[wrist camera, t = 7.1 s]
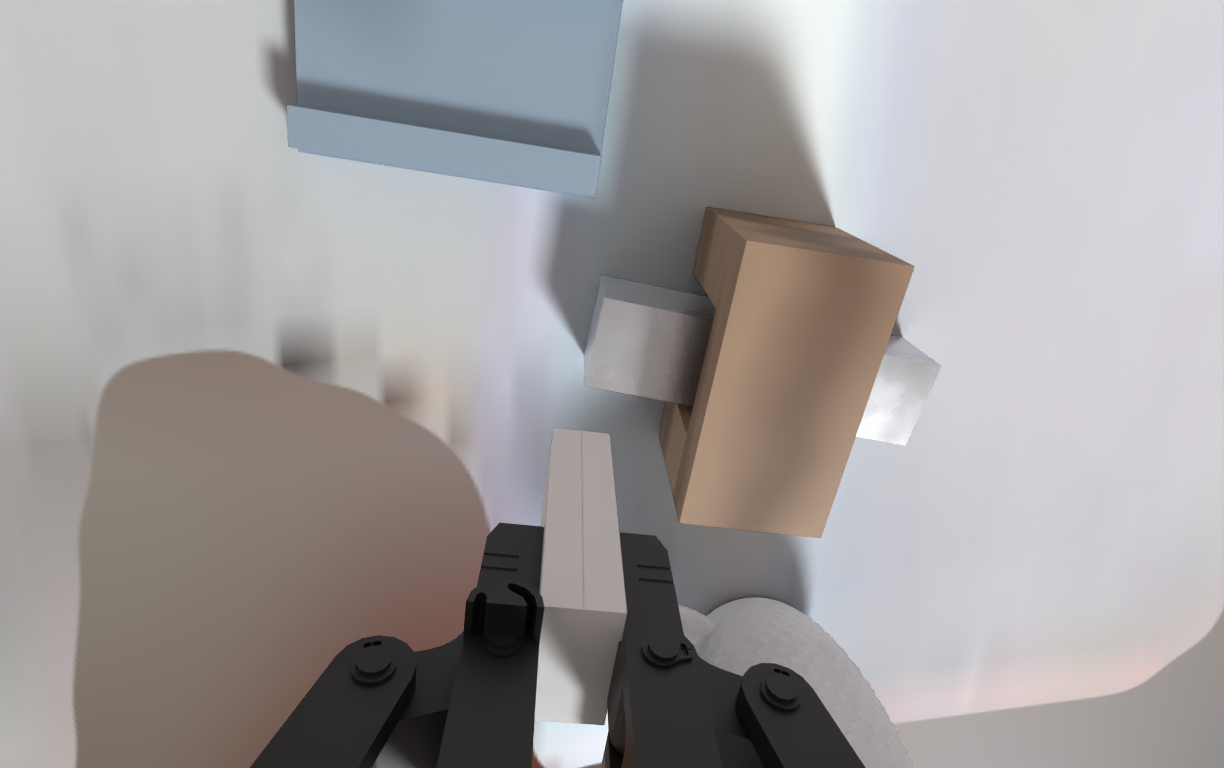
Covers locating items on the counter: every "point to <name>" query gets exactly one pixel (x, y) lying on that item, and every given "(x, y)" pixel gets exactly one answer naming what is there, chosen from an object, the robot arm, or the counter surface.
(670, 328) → the shaft
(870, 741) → the mug
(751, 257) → the bearing block
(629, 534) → the robot arm
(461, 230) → the counter surface
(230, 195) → the counter surface
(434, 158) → the cradle
